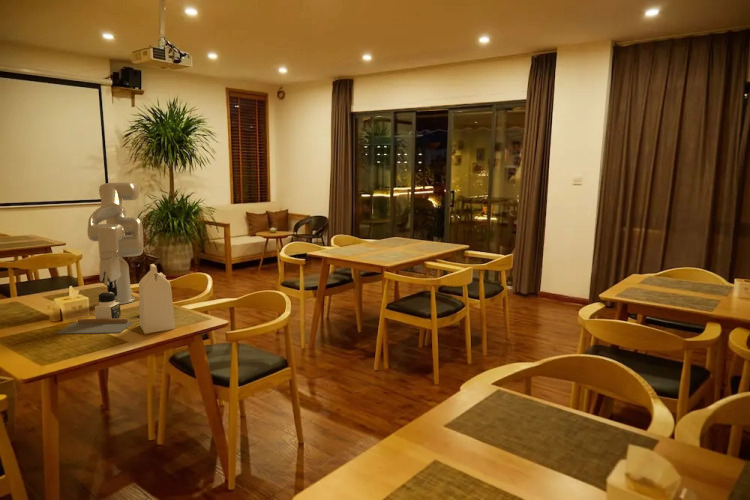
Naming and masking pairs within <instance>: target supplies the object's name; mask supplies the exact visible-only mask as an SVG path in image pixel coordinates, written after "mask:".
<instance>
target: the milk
mask: <svg viewBox="0 0 750 500" xmlns="http://www.w3.org/2000/svg"><path fill="white" fill-rule="evenodd" d="M166 277H167V275H165V274H164V273H163V272H161V271H160V272H158V268H157V265H155V264H154V263H152V264H149V270H148V272H147V273H146V274H145V275H144V276H143V277H142V278H141V279H140V281H139V282H138V301H139V326H140V328H141V330H142V331H143V334H151V333H157V332H163V331H169V330H174V329H176V321H175V311H174V303H173V292H172V286H171V282H169V281H168V279H167V278H166Z"/></svg>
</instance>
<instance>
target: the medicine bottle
mask: <svg viewBox="0 0 750 500" xmlns="http://www.w3.org/2000/svg"><path fill="white" fill-rule="evenodd" d="M98 303H99V304H98V305H95V306H94V314H95V319H122V313H121V312H122V311H121V304H120V303H119V302H115V294H114V293H112V292H108V291H107V292H101V293H99V294H98Z"/></svg>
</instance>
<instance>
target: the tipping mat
mask: <svg viewBox="0 0 750 500" xmlns="http://www.w3.org/2000/svg"><path fill="white" fill-rule="evenodd" d="M133 324H134V321H129V318H127V317H126V318H120V319H96V318H78V319H77V322H73V323H71V324H70V325H68V326H66V327H65V328H63V329H61V330H59V331H58V332H57V333H56V335H82V334H83V335H85V334H87V335H88V334H90V335H91V334H92V335H93V334H121V333H123V331H125V330H126V329H128V328H129V327H130V326H131V325H133Z"/></svg>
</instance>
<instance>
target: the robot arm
mask: <svg viewBox="0 0 750 500" xmlns="http://www.w3.org/2000/svg"><path fill="white" fill-rule="evenodd" d="M139 192H140V191H139V186H138V185H137V184H136V183H134V182H107V183H102V184H100V186H99V188H98V193H99V197H100V200H101V201H100V207H98V208H96V210H95V211H93V212H92V213H91V215H90V216H89V218H88V223H87V237H88V239H89V240H90V241H91V242H98V254H99V281H100V282H101V283H103V282H104V286H106V288H107V292H112V293H114V294H115V302H119V303H120V305H125V304H126V305H127V304H129V303H130V304H131V303H132V302H134V301H135V300H136V298H135V296H132V293H133V292H134V291H133V289H131V280H130V266H129V264H128V262H127V261H126V260H125V259H124V258H126V257H138V256H141V255H142V254H144V227H143V222H142V220H141V219H140V218H139V217H127V215H126V214H127V211H126V209H125V208H124V206H123V205H122V204H123V203H122V201H136V200H137V199H138V198H139ZM103 221H106V223H103V224H102V222H103Z"/></svg>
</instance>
